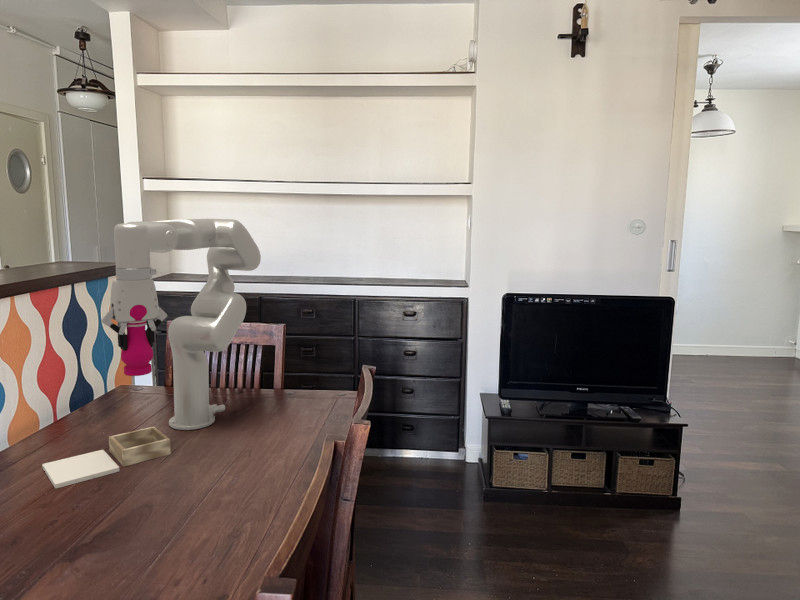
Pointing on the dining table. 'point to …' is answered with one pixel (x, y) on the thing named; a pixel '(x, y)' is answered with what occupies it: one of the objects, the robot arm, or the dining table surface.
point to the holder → (139, 446)
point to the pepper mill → (137, 345)
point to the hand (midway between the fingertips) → (136, 347)
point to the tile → (79, 468)
